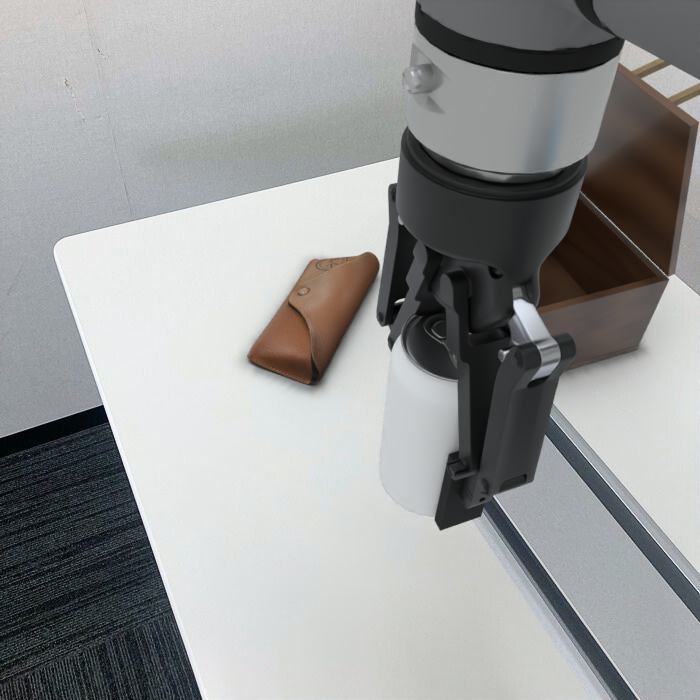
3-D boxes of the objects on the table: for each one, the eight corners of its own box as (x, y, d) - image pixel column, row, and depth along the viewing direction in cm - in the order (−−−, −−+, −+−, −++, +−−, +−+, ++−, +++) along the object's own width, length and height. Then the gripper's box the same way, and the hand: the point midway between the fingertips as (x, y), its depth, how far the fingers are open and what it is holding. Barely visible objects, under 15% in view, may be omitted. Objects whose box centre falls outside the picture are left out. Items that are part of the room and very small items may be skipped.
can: (451, 423, 50) (479, 286, 41) (501, 501, 46) (544, 366, 37) (361, 451, 48) (371, 314, 39) (405, 535, 44) (427, 402, 35)
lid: (690, 126, 58) (804, 71, 59) (570, 35, 68) (668, -11, 69) (668, 277, 72) (760, 232, 72) (571, 182, 82) (652, 143, 83)
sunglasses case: (309, 254, 87) (339, 221, 82) (357, 291, 88) (389, 260, 83) (241, 361, 75) (271, 329, 70) (298, 401, 76) (331, 373, 71)
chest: (499, 390, 74) (520, 319, 67) (426, 284, 85) (437, 213, 78) (637, 349, 79) (670, 279, 72) (551, 254, 90) (573, 184, 82)
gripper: (322, 45, 35) (319, 376, 52) (547, 313, 23) (448, 636, 39) (464, 25, 37) (417, 349, 54) (741, 261, 25) (569, 588, 41)
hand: (430, 470), depth 47 cm, fingers closed on can, 6 cm apart
